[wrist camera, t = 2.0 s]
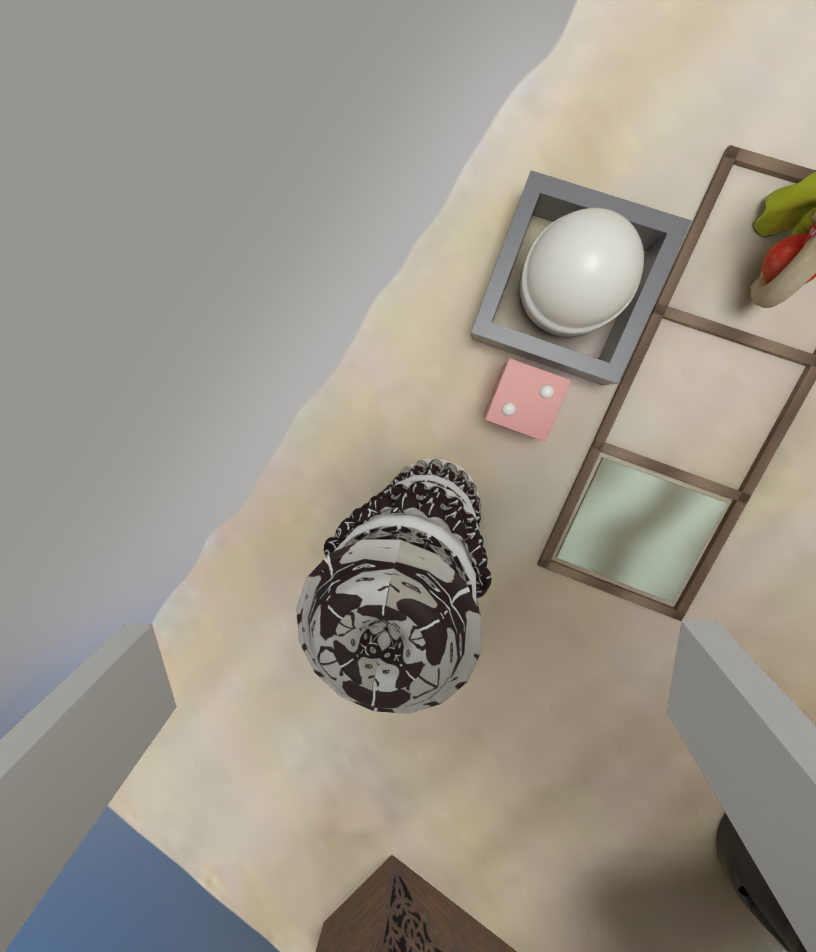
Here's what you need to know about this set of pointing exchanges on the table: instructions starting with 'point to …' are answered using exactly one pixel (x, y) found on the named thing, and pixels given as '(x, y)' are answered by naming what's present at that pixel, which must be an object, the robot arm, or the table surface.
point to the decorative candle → (400, 593)
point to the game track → (650, 498)
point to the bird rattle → (787, 243)
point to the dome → (581, 272)
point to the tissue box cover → (403, 918)
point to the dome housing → (537, 391)
